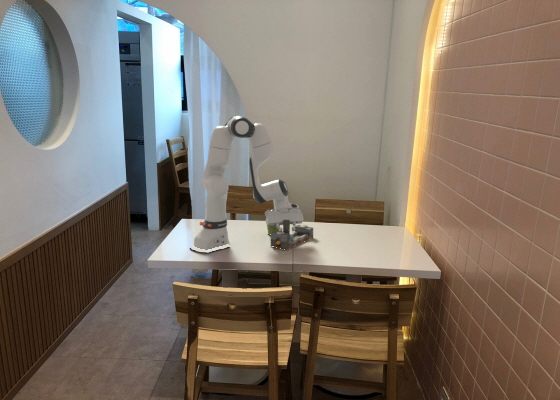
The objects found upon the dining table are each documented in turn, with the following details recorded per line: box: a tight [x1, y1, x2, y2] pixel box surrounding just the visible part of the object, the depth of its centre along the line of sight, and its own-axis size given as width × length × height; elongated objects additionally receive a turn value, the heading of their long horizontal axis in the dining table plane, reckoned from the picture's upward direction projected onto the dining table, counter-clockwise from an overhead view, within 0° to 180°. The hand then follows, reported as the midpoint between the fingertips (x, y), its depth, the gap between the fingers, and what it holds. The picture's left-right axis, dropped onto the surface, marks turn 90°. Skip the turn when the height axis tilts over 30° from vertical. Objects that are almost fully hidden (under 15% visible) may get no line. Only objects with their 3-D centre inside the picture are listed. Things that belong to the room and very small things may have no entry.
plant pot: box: [265, 218, 281, 235], centre depth 266 cm, size 9×9×9 cm
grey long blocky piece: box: [270, 224, 314, 251], centre depth 253 cm, size 27×10×9 cm, turn 144°
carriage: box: [282, 220, 293, 241], centre depth 247 cm, size 6×5×12 cm
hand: (287, 231), depth 246 cm, fingers open, 6 cm apart
